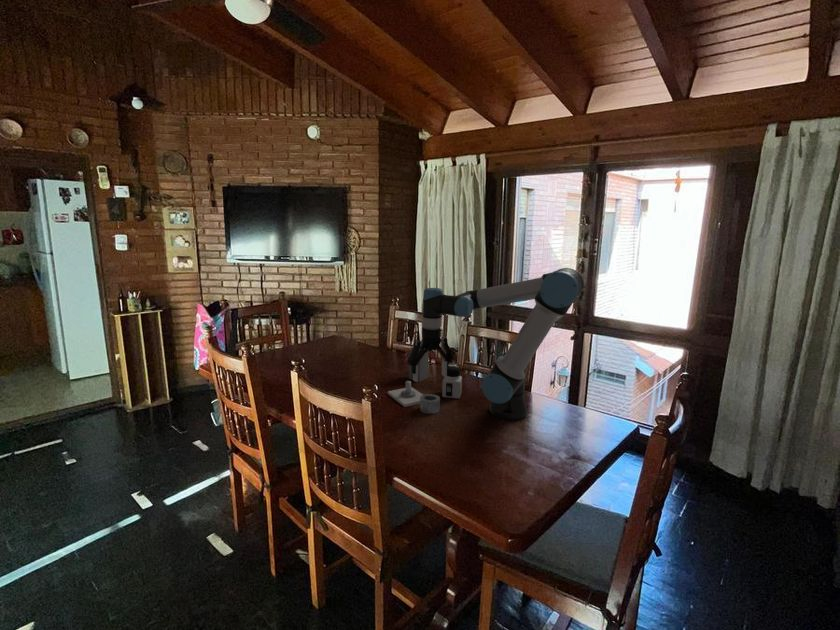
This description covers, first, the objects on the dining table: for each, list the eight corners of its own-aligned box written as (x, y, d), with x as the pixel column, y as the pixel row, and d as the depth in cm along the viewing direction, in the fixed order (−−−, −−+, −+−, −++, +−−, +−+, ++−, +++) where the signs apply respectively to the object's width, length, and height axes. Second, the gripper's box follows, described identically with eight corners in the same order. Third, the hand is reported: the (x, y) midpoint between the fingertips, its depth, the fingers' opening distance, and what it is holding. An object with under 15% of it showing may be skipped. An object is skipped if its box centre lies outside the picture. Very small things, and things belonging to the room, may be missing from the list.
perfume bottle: (419, 381, 211) (420, 345, 208) (408, 378, 215) (409, 343, 212) (427, 378, 217) (428, 342, 213) (417, 375, 221) (417, 340, 217)
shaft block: (429, 401, 188) (429, 385, 187) (404, 406, 182) (404, 390, 181) (411, 389, 202) (411, 374, 200) (387, 393, 196) (387, 378, 194)
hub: (443, 411, 179) (443, 399, 178) (426, 415, 175) (426, 403, 174) (433, 404, 186) (433, 392, 185) (416, 407, 182) (416, 396, 181)
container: (459, 398, 192) (460, 370, 189) (442, 397, 193) (442, 368, 191) (461, 392, 199) (462, 364, 197) (444, 390, 201) (445, 363, 198)
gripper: (452, 322, 182) (450, 370, 187) (399, 328, 170) (398, 380, 175) (463, 326, 176) (460, 376, 181) (408, 332, 164) (407, 386, 168)
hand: (429, 378), depth 178 cm, fingers open, 13 cm apart
